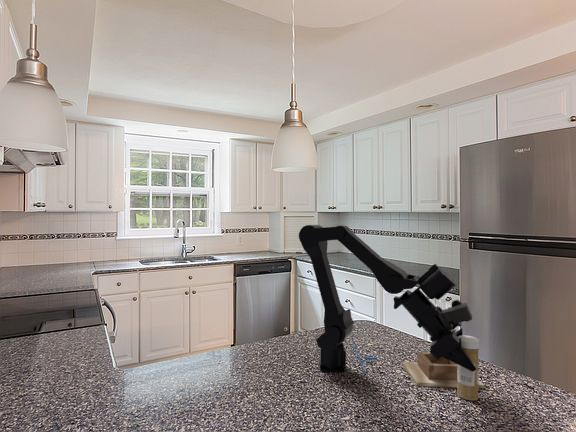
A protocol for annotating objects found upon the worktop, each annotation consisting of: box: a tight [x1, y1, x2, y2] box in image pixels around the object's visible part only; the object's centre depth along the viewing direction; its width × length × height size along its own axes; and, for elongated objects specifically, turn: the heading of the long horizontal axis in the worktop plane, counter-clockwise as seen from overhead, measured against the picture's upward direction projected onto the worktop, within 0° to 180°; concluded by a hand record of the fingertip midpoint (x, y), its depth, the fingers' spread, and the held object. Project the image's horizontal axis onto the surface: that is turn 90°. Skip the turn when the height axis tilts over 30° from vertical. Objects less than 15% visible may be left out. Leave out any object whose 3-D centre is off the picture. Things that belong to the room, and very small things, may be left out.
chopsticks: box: [350, 340, 378, 373], centre depth 106 cm, size 1×25×5 cm
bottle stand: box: [402, 351, 485, 389], centre depth 94 cm, size 16×13×4 cm
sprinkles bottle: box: [456, 335, 480, 402], centre depth 83 cm, size 5×5×13 cm
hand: (474, 366), depth 83 cm, fingers closed on sprinkles bottle, 4 cm apart
